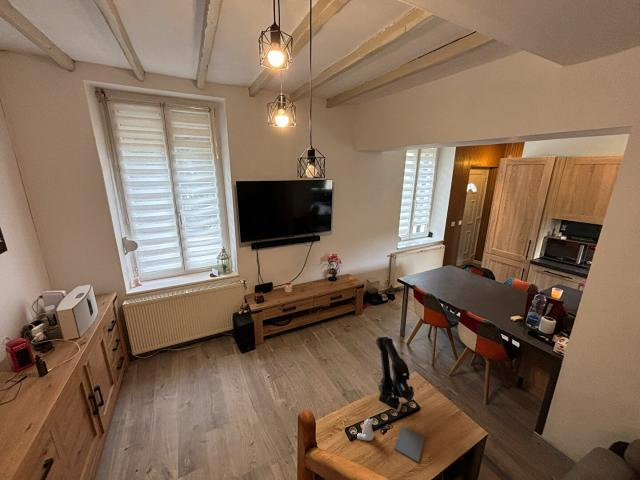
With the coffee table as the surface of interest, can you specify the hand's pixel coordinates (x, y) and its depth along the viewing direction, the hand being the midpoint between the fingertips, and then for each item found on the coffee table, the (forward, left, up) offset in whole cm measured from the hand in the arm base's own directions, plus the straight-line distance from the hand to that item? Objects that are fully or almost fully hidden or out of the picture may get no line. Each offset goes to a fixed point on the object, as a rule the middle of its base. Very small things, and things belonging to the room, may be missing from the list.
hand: (395, 405), depth 148 cm
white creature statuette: (-10, -17, -11) cm, 23 cm away
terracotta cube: (0, 0, -1) cm, 1 cm away
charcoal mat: (+11, -9, -11) cm, 18 cm away
